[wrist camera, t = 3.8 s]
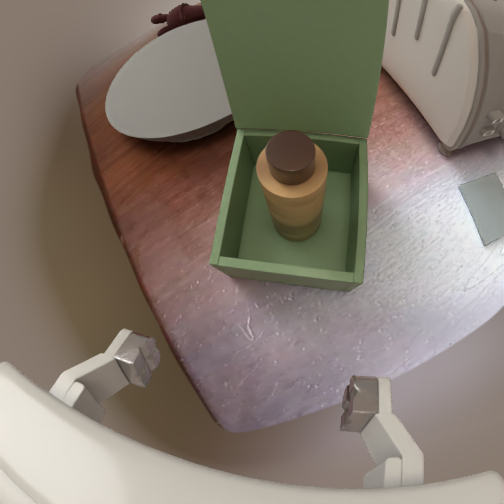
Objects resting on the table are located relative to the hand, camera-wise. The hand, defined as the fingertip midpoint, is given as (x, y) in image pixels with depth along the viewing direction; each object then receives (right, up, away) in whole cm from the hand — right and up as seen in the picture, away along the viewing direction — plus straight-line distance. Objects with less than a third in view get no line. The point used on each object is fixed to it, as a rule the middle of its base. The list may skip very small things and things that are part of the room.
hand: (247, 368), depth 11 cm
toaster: (+27, +37, +23) cm, 51 cm away
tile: (+30, +10, +16) cm, 36 cm away
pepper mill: (+5, +8, +19) cm, 21 cm away
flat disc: (-8, +31, +28) cm, 42 cm away
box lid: (+4, +18, +7) cm, 20 cm away
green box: (+5, +8, +20) cm, 22 cm away
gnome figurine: (-12, +50, +33) cm, 61 cm away
